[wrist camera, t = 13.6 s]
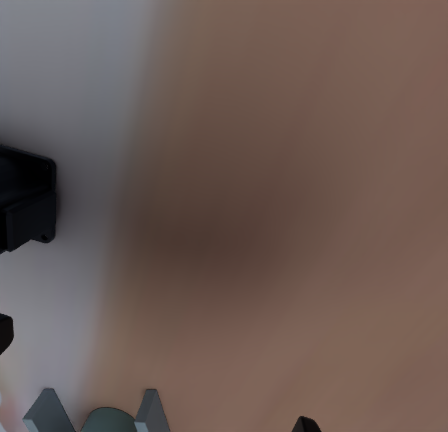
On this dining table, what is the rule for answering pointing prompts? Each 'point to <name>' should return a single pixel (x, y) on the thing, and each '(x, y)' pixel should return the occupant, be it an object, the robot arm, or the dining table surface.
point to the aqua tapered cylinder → (109, 421)
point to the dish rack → (61, 427)
